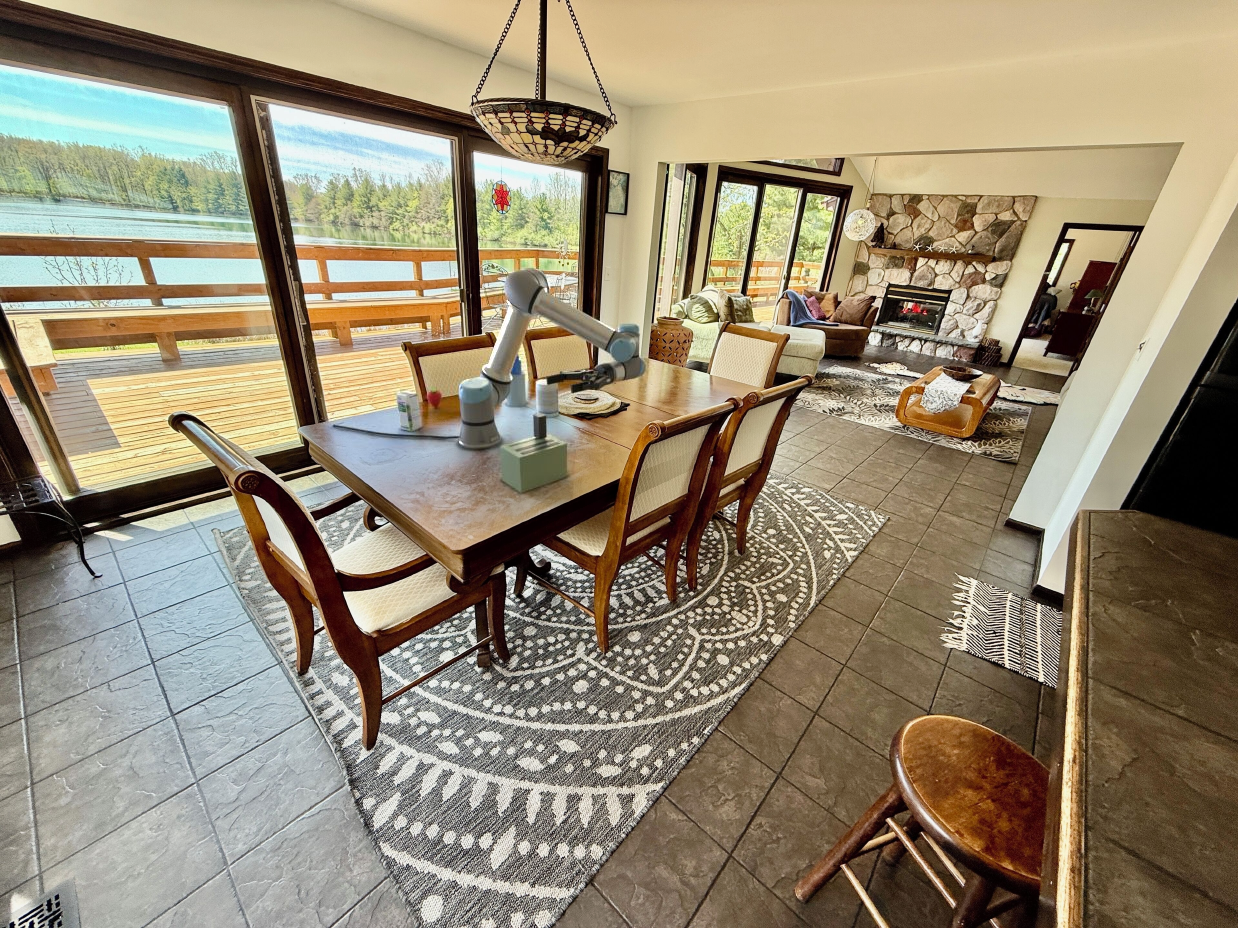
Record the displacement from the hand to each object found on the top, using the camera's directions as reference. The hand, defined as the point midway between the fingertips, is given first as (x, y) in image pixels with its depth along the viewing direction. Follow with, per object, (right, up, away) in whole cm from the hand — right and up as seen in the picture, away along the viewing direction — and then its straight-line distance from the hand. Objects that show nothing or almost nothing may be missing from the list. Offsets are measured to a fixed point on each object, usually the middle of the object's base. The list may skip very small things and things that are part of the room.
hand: (558, 384), depth 155 cm
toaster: (-8, -30, +1) cm, 31 cm away
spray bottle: (-28, +2, +68) cm, 74 cm away
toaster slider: (-6, -17, +1) cm, 18 cm away
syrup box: (-63, -12, +35) cm, 73 cm away
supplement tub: (-12, -4, +57) cm, 59 cm away
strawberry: (-62, -1, +57) cm, 84 cm away
